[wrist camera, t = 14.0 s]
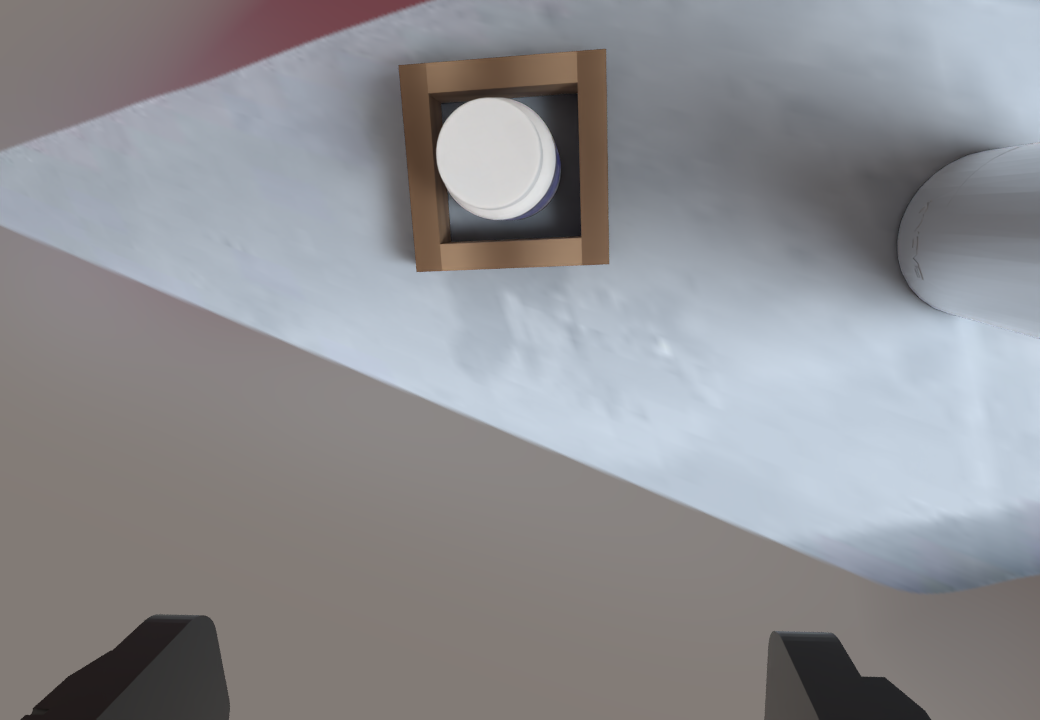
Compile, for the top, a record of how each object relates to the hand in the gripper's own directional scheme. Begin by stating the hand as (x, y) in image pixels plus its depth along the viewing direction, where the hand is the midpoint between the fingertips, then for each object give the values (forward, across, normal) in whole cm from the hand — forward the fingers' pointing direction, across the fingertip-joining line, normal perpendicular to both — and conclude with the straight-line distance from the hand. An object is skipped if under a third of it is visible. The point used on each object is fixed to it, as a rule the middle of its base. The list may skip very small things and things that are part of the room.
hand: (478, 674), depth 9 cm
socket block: (+30, +2, -9) cm, 32 cm away
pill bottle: (+30, +2, -9) cm, 32 cm away
